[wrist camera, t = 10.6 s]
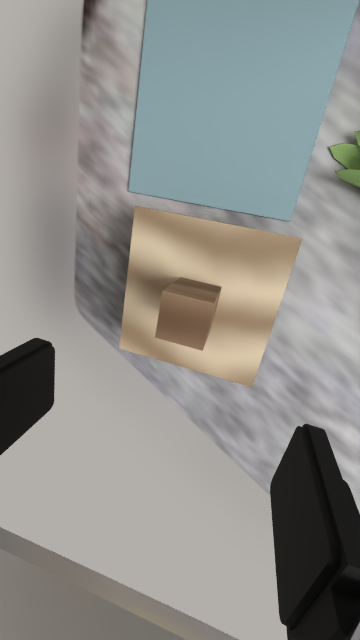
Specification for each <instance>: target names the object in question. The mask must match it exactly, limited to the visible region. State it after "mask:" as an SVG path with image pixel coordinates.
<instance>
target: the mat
mask: <svg viewBox="0 0 360 640" xmlns="http://www.w3.org/2000/svg"><path fill="white" fill-rule="evenodd" d="M358 3H359V0H147V9H146V19H145V29H144V40H143V50H142V60H141V70H140V80H139V90H138V100H137V110H136V120H135V130H134V140H133V150H132V160H131V170H130V180H129V190H128V191H129V192H134V193H140V194H145V195H151V196H156V197H161V198H167V199H172V200H177V201H183V202H188V203H194V204H199V205H204V206H210V207H215V208H220V209H226V210H231V211H237V212H242V213H247V214H253V215H258V216H263V217H269V218H274V219H280V220H285V221H290V220H291V217H292V214H293V211H294V207H295V204H296V201H297V198H298V195H299V191H300V188H301V185H302V182H303V179H304V175H305V172H306V169H307V166H308V163H309V159H310V156H311V153H312V150H313V147H314V144H315V140H316V137H317V134H318V131H319V128H320V124H321V121H322V118H323V115H324V112H325V108H326V105H327V102H328V99H329V96H330V92H331V89H332V86H333V83H334V80H335V77H336V73H337V70H338V67H339V64H340V61H341V57H342V54H343V51H344V48H345V45H346V41H347V38H348V35H349V32H350V29H351V25H352V22H353V19H354V16H355V13H356V9H357V6H358Z"/></svg>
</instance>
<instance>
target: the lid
mask: <svg viewBox="0 0 360 640" xmlns="http://www.w3.org/2000/svg"><path fill="white" fill-rule="evenodd" d="M301 241H302V238H297V237H291V236H286V235H281V234H276V233H271V232H266V231H261V230H256V229H251V228H246V227H241V226H236V225H230V224H225V223H220V222H215V221H210V220H205V219H200V218H195V217H190V216H185V215H180V214H175V213H169V212H164V211H159V210H154V209H149V208H144V207H139V206H135V211H134V220H133V229H132V238H131V247H130V256H129V265H128V274H127V283H126V292H125V301H124V310H123V319H122V328H121V336H120V345H119V348H120V349H124V350H127V351H130V352H134V353H137V354H141V355H144V356H148V357H151V358H154V359H158V360H161V361H165V362H168V363H171V364H175V365H178V366H182V367H185V368H188V369H192V370H195V371H199V372H202V373H206V374H209V375H212V376H216V377H219V378H223V379H226V380H229V381H233V382H236V383H240V384H243V385H247V386H250V387H252V386H253V383H254V380H255V377H256V374H257V371H258V368H259V365H260V362H261V359H262V356H263V353H264V350H265V347H266V344H267V341H268V338H269V335H270V332H271V329H272V327H273V324H274V321H275V318H276V315H277V312H278V309H279V306H280V303H281V300H282V297H283V294H284V291H285V288H286V285H287V282H288V279H289V276H290V273H291V270H292V267H293V264H294V262H295V259H296V256H297V253H298V250H299V247H300V244H301Z"/></svg>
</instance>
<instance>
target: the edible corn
mask: <svg viewBox="0 0 360 640" xmlns="http://www.w3.org/2000/svg"><path fill="white" fill-rule="evenodd" d="M355 134H356V138H357V142H358V145H353V144H343V143H342V144H339V145H335V146H331V147H330V149H331V152H332V154H333V156H334V158H335V159H336V160H338V161H339V162H340V163H341V164H342V165H344V166H345V167H346V168H347V169H346V170H338V171H335V172H336V174H337V175H338V177H339V178H340V179H342V180H344V181H346V182H348V183H351V184H353V185H355V186H357V187H359V188H360V131H355Z"/></svg>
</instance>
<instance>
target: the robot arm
mask: <svg viewBox="0 0 360 640" xmlns="http://www.w3.org/2000/svg"><path fill="white" fill-rule="evenodd" d="M54 367H55V349H54V347H52V344H51V342H49V341H46V340H43V339H39V338H34V339H32V340H30V341H28V342H26V343H24V344H22V345H20V346H18V347H16V348H14V349H12V350H11V351H8V352H6V353H5V354H3V355H1V356H0V455H1V454H2V453H3V452H4V451H5V450H7V449H8V448H9V447H10V446H11V445H12V444H13V443H14V442H15V441H17V440H18V439H19V438H20V437H21V436H22V435H23V434H24V433H25V432H26V431H27V430H28V429H30V428H31V427H32V426H33V425H34V424H35V423H36V422H37V421H38V420H39V419H41V417H43V416H44V415H45V414H46V413H47V412H48V411H49V410H50V409H51V407H52V406H53V403H54V373H55V372H54V370H55V368H54ZM270 494H271V508H272V520H273V521H272V522H273V535H274V548H275V562H276V576H277V590H278V603H279V615H280V620H281V623H282V624H284V625H286V626H287V638H288V640H360V514H359V511H358V509H357V506H356V503H355V501H354V498H353V495H352V493H351V490H350V488H349V486H348V484H347V483H346V482H345V481H344V480H343V479H342V476H341V473H340V471H339V468H338V465H337V462H336V459H335V457H334V454H333V451H332V448H331V446H330V443H329V440H328V437H327V435H326V432H325V430H323V429H321V428H318V427H315V426H312V425H309V424H304V425H303V427H300V426H298V427H297V428H296V430H295V432H294V434H293V436H292V438H291V440H290V443H289V445H288V447H287V449H286V451H285V453H284V455H283V457H282V460H281V462H280V464H279V466H278V468H277V470H276V472H275V474H274V477H273V479H272V482H271V487H270ZM0 640H238V639H236V638H234V637H232V636H230V635H228V634H226V633H224V632H222V631H220V630H218V629H216V628H214V627H212V626H210V625H208V624H206V623H204V622H202V621H200V620H198V619H195V618H193V617H191V616H189V615H187V614H185V613H183V612H181V611H178V610H176V609H174V608H172V607H170V606H168V605H166V604H163V603H161V602H159V601H157V600H155V599H153V598H151V597H149V596H147V595H144V594H142V593H140V592H138V591H136V590H134V589H132V588H130V587H128V586H125V585H123V584H121V583H119V582H117V581H115V580H113V579H110V578H108V577H106V576H104V575H102V574H100V573H98V572H95V571H93V570H91V569H89V568H87V567H85V566H83V565H80V564H78V563H76V562H74V561H72V560H70V559H67V558H65V557H63V556H61V555H59V554H57V553H55V552H52V551H50V550H48V549H46V548H44V547H42V546H40V545H37V544H35V543H33V542H31V541H29V540H27V539H24V538H22V537H20V536H18V535H16V534H13V533H11V532H9V531H7V530H5V529H3V528H1V527H0Z"/></svg>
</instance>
